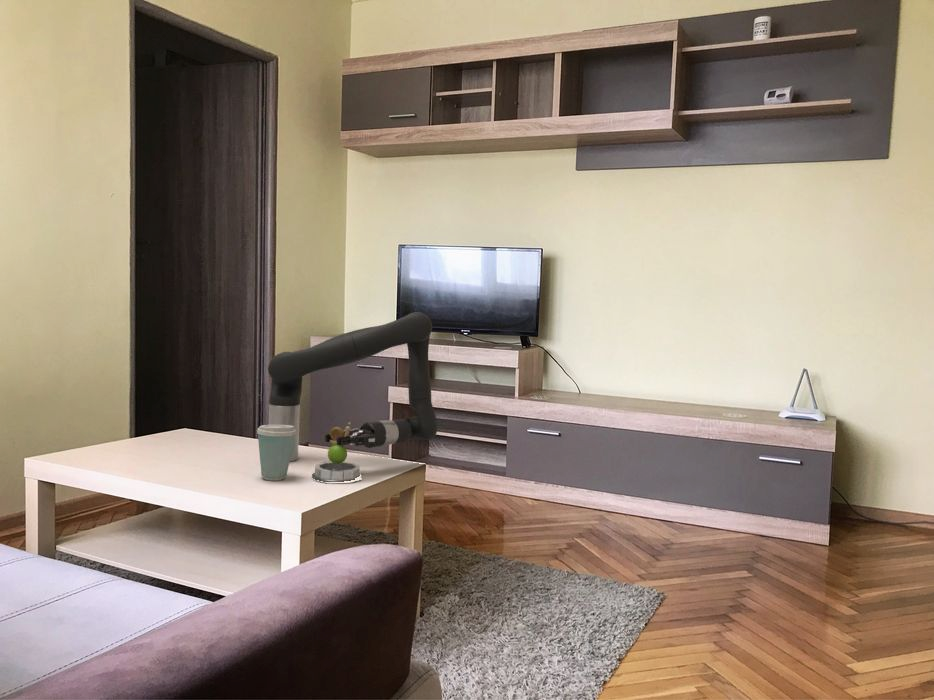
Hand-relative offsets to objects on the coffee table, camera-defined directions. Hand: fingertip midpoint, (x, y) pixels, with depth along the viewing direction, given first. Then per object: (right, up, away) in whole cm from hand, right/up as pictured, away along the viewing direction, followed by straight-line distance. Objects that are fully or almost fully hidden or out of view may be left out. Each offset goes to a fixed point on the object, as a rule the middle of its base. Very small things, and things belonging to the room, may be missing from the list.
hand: (331, 439), depth 209 cm
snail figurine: (+2, -7, +2) cm, 8 cm away
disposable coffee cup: (-16, -11, -1) cm, 19 cm away
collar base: (+1, -11, +3) cm, 11 cm away
